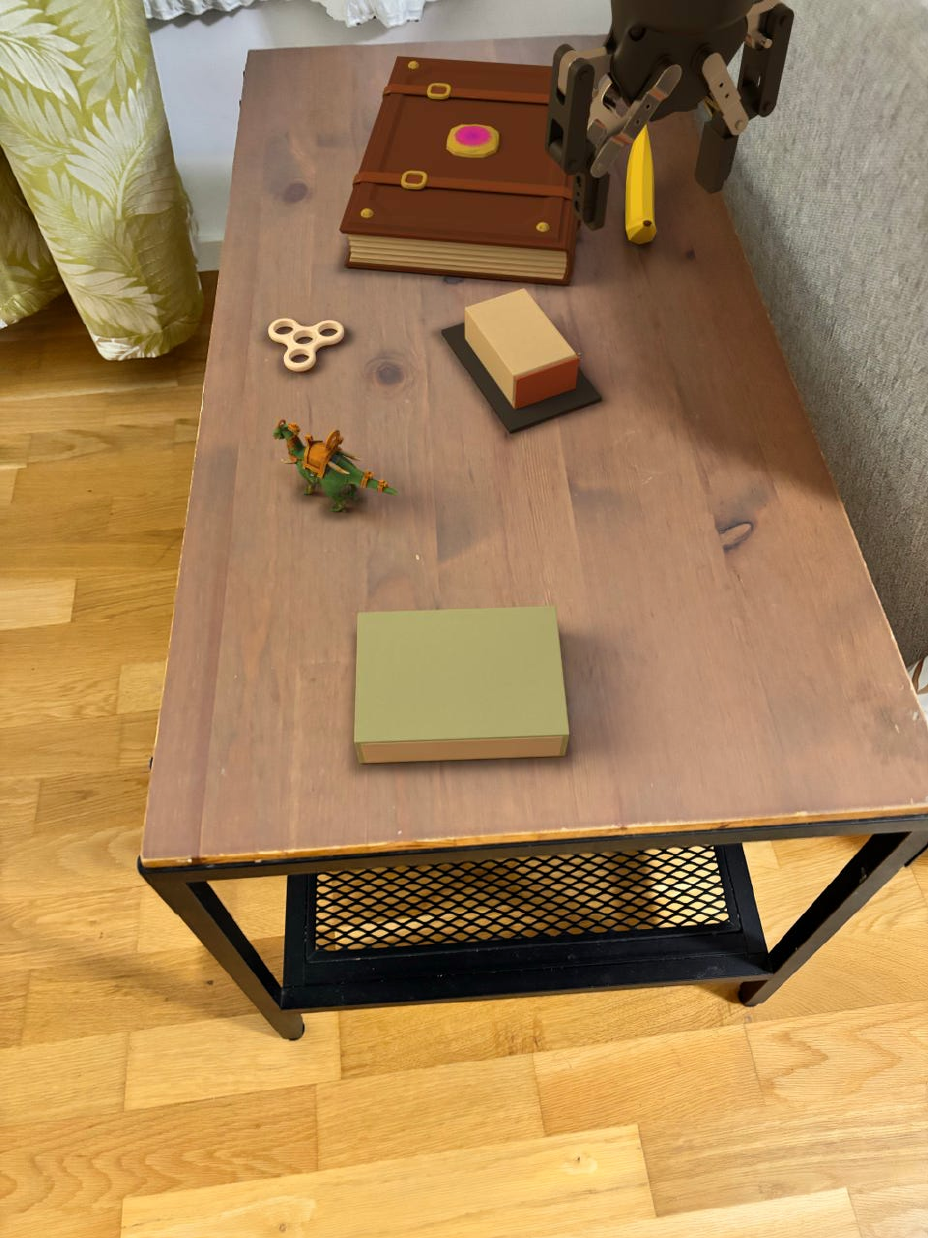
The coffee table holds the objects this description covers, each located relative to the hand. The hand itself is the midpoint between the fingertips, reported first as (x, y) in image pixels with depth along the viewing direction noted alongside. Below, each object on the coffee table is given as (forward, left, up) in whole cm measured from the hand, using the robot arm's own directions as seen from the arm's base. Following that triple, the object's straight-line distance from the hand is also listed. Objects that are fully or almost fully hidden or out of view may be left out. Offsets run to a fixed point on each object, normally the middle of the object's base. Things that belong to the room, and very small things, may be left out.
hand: (650, 204), depth 58 cm
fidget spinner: (+26, -14, -23) cm, 37 cm away
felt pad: (+7, -11, -23) cm, 26 cm away
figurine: (+22, +4, -23) cm, 32 cm away
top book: (+7, -11, -22) cm, 26 cm away
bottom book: (+13, +22, -23) cm, 35 cm away
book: (+9, -39, -23) cm, 46 cm away
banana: (-7, -31, -23) cm, 39 cm away
